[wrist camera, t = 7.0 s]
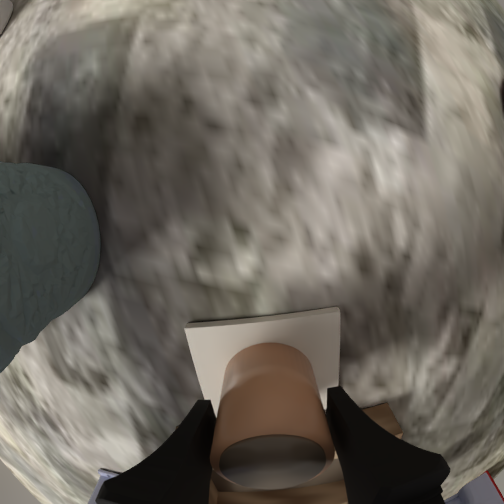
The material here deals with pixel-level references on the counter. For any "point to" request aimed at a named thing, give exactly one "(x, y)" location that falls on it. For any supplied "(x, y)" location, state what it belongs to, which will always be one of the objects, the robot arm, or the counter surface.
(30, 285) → the green cup
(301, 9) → the counter surface
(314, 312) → the tile
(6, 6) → the bath foam
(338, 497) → the brown wooden shallow tray
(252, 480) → the pot
